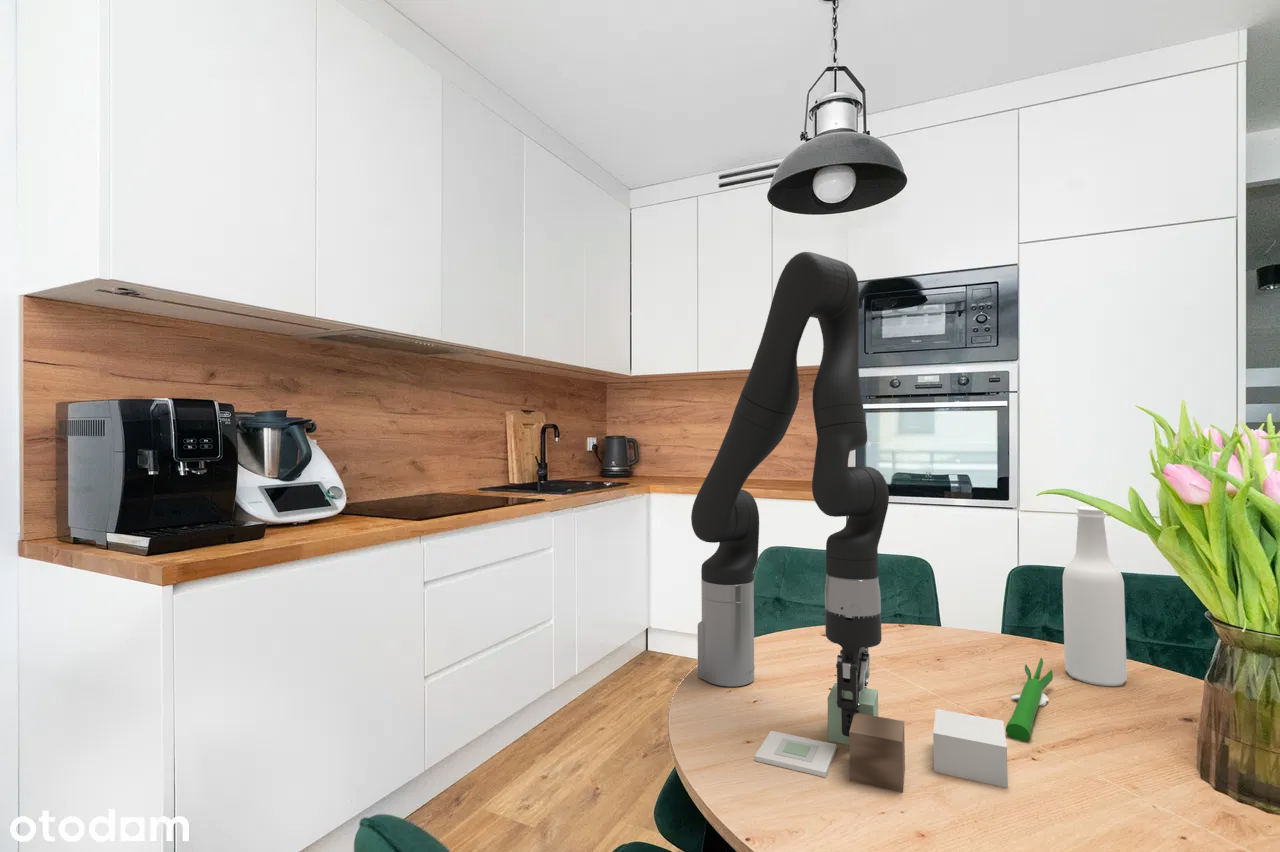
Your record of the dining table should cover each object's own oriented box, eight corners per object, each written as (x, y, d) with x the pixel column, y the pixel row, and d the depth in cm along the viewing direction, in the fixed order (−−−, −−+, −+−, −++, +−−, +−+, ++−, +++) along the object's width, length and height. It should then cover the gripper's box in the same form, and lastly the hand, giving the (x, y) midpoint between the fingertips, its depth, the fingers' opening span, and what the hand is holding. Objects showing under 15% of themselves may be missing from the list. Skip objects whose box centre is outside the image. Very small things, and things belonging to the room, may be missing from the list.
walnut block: (849, 781, 75) (849, 731, 75) (855, 758, 80) (854, 712, 80) (903, 793, 72) (902, 741, 72) (904, 769, 78) (904, 721, 78)
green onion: (1034, 751, 84) (1057, 676, 107) (1033, 727, 84) (1056, 657, 107) (994, 740, 87) (1024, 669, 110) (993, 717, 87) (1024, 651, 110)
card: (754, 760, 80) (754, 754, 80) (771, 734, 87) (770, 729, 87) (826, 777, 75) (825, 770, 75) (836, 749, 83) (836, 742, 83)
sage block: (828, 741, 85) (827, 697, 85) (835, 723, 90) (834, 682, 91) (873, 750, 82) (873, 705, 83) (878, 732, 88) (877, 689, 88)
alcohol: (1108, 670, 111) (1104, 505, 113) (1139, 689, 103) (1133, 510, 104) (1055, 667, 113) (1051, 504, 114) (1081, 685, 104) (1076, 509, 105)
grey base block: (933, 773, 77) (933, 732, 77) (936, 745, 84) (935, 708, 84) (1007, 789, 73) (1006, 747, 73) (1004, 759, 80) (1003, 720, 80)
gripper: (833, 593, 95) (835, 700, 94) (815, 616, 82) (818, 739, 82) (885, 598, 92) (887, 709, 91) (875, 622, 79) (878, 751, 78)
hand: (854, 723), depth 86 cm, fingers open, 8 cm apart
